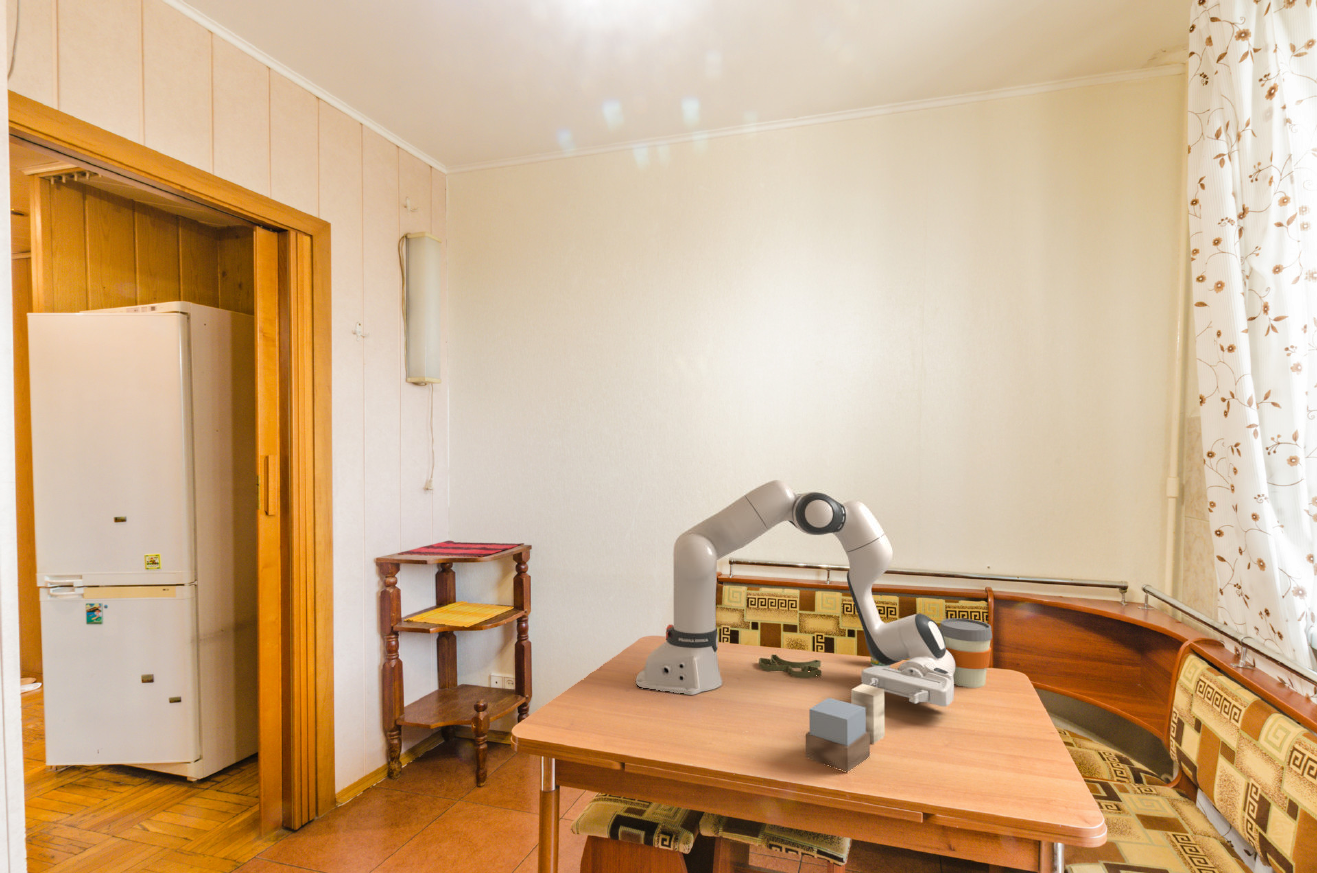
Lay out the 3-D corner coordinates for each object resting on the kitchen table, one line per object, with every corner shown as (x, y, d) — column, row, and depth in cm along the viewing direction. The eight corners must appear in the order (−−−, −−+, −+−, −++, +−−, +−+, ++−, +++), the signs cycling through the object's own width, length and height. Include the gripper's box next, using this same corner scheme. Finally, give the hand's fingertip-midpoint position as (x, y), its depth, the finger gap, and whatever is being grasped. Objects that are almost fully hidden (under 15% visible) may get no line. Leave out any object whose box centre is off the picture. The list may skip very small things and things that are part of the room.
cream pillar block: (851, 737, 143) (851, 689, 143) (862, 730, 146) (862, 683, 146) (873, 744, 139) (873, 695, 139) (884, 736, 143) (884, 689, 143)
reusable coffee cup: (1002, 683, 175) (1001, 625, 175) (975, 694, 168) (974, 633, 168) (957, 670, 185) (957, 615, 185) (930, 679, 178) (929, 622, 178)
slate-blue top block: (809, 734, 133) (809, 709, 133) (828, 722, 139) (828, 697, 139) (847, 746, 128) (847, 719, 128) (865, 732, 134) (865, 707, 134)
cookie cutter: (827, 668, 188) (827, 661, 188) (818, 682, 177) (818, 674, 178) (765, 660, 196) (765, 653, 196) (752, 672, 185) (752, 665, 185)
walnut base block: (805, 759, 133) (805, 734, 133) (828, 744, 140) (828, 720, 140) (847, 774, 127) (847, 747, 127) (869, 758, 133) (869, 733, 133)
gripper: (875, 656, 169) (848, 669, 159) (960, 675, 154) (936, 691, 144) (875, 681, 168) (849, 696, 158) (960, 702, 154) (936, 720, 144)
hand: (891, 693), depth 151 cm, fingers open, 8 cm apart
